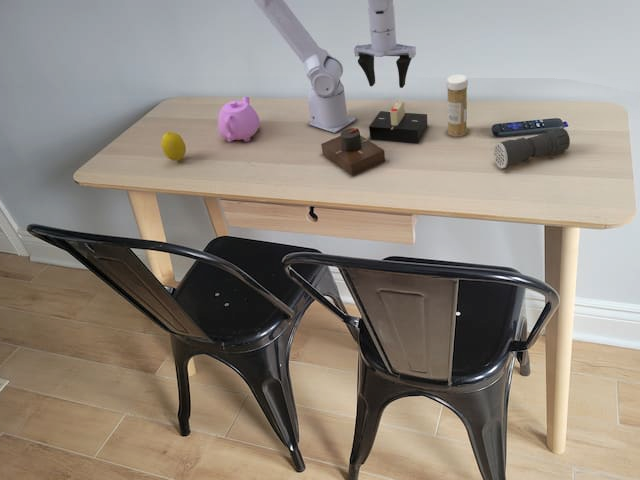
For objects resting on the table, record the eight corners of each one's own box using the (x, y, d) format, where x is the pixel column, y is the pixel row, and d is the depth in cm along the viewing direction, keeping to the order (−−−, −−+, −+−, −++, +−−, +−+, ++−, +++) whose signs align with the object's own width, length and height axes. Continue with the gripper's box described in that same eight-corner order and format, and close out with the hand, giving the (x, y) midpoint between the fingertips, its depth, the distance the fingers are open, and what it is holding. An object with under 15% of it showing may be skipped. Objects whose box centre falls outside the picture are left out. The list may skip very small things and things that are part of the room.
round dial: (349, 153, 129) (347, 138, 127) (338, 146, 132) (336, 131, 130) (365, 146, 131) (363, 131, 128) (354, 139, 134) (352, 124, 131)
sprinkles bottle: (471, 132, 135) (472, 77, 127) (456, 139, 134) (456, 84, 125) (457, 126, 139) (457, 72, 130) (443, 133, 137) (442, 78, 128)
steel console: (369, 141, 139) (367, 127, 136) (382, 122, 145) (381, 108, 143) (416, 145, 134) (416, 131, 132) (428, 125, 141) (428, 111, 138)
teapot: (214, 148, 146) (203, 114, 140) (235, 120, 157) (226, 87, 151) (251, 148, 143) (242, 113, 137) (271, 119, 154) (263, 86, 148)
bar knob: (398, 114, 139) (397, 100, 137) (404, 114, 139) (403, 100, 136) (391, 125, 136) (390, 110, 133) (397, 125, 135) (396, 111, 133)
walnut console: (322, 155, 136) (320, 143, 134) (354, 141, 139) (352, 129, 137) (352, 176, 128) (350, 164, 125) (385, 161, 131) (384, 149, 128)
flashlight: (556, 143, 127) (559, 121, 123) (570, 155, 123) (574, 132, 119) (492, 161, 125) (493, 138, 121) (504, 172, 121) (506, 150, 117)
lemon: (193, 155, 144) (183, 126, 139) (182, 167, 141) (172, 138, 135) (175, 154, 146) (164, 126, 141) (163, 166, 142) (152, 137, 137)
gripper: (346, 34, 130) (353, 91, 139) (407, 34, 125) (411, 94, 134) (357, 22, 135) (364, 78, 144) (417, 23, 129) (419, 81, 138)
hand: (387, 85), depth 139 cm, fingers open, 7 cm apart
